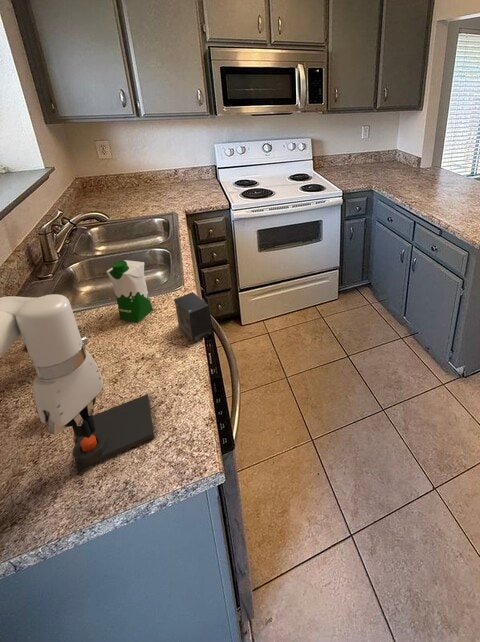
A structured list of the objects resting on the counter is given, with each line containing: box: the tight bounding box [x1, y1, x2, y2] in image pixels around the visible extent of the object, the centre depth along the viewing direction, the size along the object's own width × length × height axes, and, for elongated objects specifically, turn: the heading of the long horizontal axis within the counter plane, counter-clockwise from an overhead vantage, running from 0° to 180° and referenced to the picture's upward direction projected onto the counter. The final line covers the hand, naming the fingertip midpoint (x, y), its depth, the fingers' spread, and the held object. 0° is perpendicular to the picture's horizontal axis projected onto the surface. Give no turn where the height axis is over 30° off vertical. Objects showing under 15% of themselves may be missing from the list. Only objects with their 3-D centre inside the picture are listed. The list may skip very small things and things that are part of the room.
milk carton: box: [105, 259, 154, 323], centre depth 115 cm, size 9×9×20 cm
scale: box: [72, 393, 155, 473], centre depth 78 cm, size 14×12×3 cm
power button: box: [80, 435, 97, 452], centre depth 72 cm, size 3×3×2 cm
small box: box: [173, 291, 213, 344], centre depth 108 cm, size 11×6×10 cm, turn 44°
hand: (86, 432), depth 71 cm, fingers closed
